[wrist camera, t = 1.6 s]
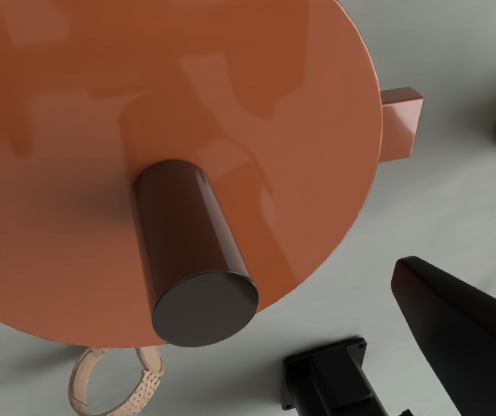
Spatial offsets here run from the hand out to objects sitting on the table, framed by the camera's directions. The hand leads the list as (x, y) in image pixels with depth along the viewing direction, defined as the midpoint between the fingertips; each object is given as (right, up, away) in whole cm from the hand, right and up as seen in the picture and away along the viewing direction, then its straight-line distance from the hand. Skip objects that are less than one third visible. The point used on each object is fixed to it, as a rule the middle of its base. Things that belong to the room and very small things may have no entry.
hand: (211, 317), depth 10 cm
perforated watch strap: (-7, -5, +17) cm, 19 cm away
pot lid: (-2, +3, +4) cm, 5 cm away
